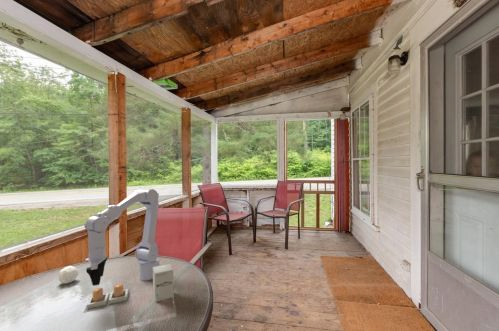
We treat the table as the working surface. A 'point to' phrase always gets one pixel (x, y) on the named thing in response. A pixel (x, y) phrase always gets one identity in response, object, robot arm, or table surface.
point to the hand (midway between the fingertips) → (98, 280)
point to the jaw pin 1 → (97, 294)
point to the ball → (68, 274)
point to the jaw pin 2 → (118, 290)
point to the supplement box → (163, 282)
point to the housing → (107, 301)
